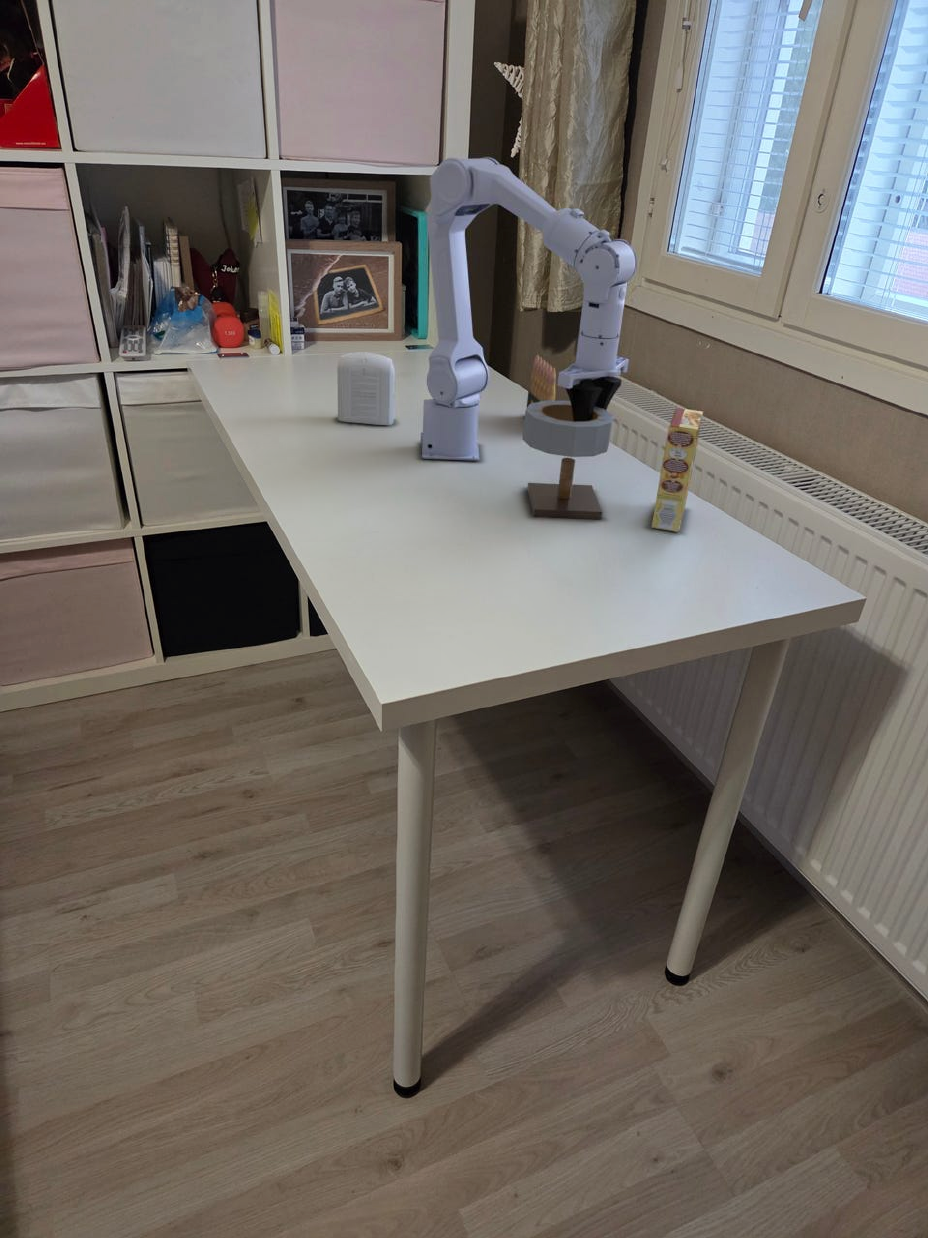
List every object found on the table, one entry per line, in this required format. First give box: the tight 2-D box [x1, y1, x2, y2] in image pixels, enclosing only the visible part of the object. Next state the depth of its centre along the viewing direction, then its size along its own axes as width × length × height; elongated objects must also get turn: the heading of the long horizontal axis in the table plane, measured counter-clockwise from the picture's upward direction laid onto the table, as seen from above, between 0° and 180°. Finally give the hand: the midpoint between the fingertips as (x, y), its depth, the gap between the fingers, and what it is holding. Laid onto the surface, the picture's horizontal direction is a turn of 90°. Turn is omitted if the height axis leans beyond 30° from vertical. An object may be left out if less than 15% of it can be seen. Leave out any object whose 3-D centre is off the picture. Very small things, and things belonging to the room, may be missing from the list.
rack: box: [526, 457, 603, 520], centre depth 126 cm, size 10×10×7 cm
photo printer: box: [336, 351, 396, 426], centre depth 152 cm, size 10×4×12 cm, turn 86°
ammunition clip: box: [525, 353, 557, 410], centre depth 155 cm, size 11×2×12 cm, turn 14°
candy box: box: [651, 407, 704, 533], centre depth 121 cm, size 9×4×15 cm, turn 162°
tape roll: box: [521, 400, 614, 458], centre depth 123 cm, size 13×13×4 cm
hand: (586, 427), depth 127 cm, fingers closed on tape roll, 2 cm apart
